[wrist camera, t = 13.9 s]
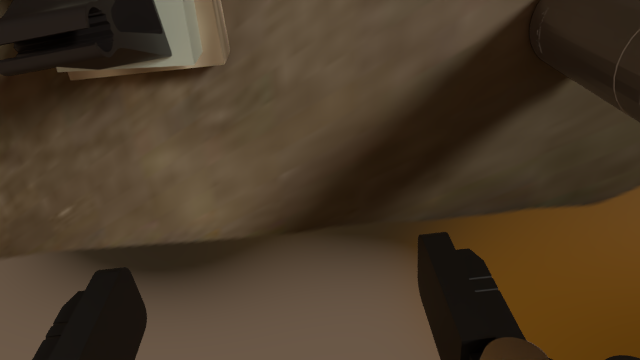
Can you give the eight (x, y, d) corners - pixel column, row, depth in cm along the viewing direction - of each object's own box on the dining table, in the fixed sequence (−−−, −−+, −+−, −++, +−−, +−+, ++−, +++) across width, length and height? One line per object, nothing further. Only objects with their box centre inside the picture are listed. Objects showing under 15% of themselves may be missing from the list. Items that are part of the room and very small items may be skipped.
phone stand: (172, 55, 37) (124, 114, 27) (100, 68, 37) (25, 131, 27) (130, -71, 32) (52, -58, 22) (49, -55, 33) (-66, -35, 22)
